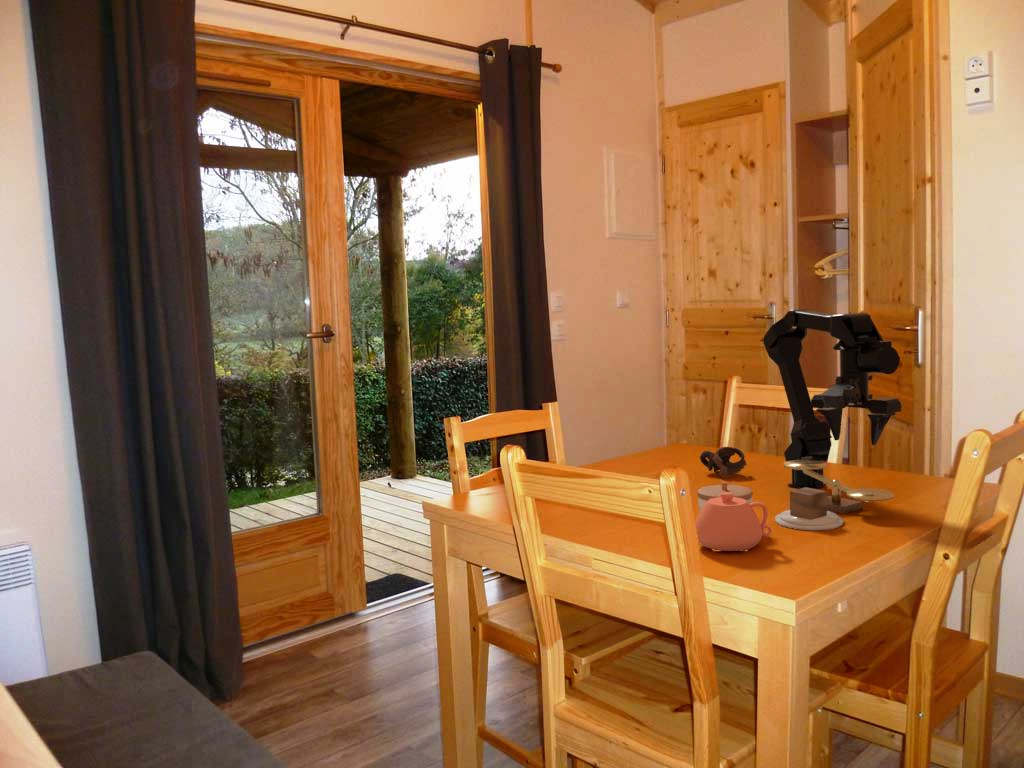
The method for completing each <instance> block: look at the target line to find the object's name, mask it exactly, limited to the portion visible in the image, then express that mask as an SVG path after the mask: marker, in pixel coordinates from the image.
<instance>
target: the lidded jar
mask: <svg viewBox="0 0 1024 768" xmlns="http://www.w3.org/2000/svg"><path fill="white" fill-rule="evenodd" d="M723 492H731V493H733V494H734V496H733V497H737V498H742V499H745V500H746V501H747V502H748V503H749V504H750V503H752V502H753V490H752V489H751V488H749V487H746V486H743V485H737V484H736V485H735V484H728V482H727V481H722V482H721V484H715V485H714V484H712V485H706V486H703V487H700V488H699V489H698V490H697V492H696V493H697V501H698V503H697V504H698V509H699V512H700V511H701V510H702V508H703V506H704V505H705V503H706V502H707V501H708V500H709V499H712V498H717V497H721V496H720V493H723Z"/></svg>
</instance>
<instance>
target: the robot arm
mask: <svg viewBox="0 0 1024 768" xmlns="http://www.w3.org/2000/svg"><path fill="white" fill-rule="evenodd" d="M808 329H810V330H815V331H821V332H826V333H828V334H829V335H830V336H831V337H832V338H834V339H837V340H839V341H838V342H837V343H836V344H835V345H834V346H833V347H832V349H833V350H834V351H839V375H837V376H836V378H835V384H834V385H833V386H831V387H829V388H827V389H826V390H824V391H823V392H822V393H820V394H814V395H813V397H812V398H811V397H810V393H809V390H808V387H807V383H806V379H805V376H804V372H803V369H802V366H801V365H802V364H801V362H800V357H801V355H802V351H803V343H802V341H804V339H805V338H806V336H808ZM762 341H763V343H762V344H763V345H764V348H765V350H766V353H767V356H768V357H769V359H771V360H772V361H773V362H774V363H775V364H776V365H777V366H778V370H779V374H780V377H781V380H782V384H783V388H784V391H785V394H786V397H787V402H788V405H789V409H790V412H791V416H792V420H793V425H792V429H791V432H790V438H791V439H790V440H791V442H790V444H789V445H788V446H787V448H786V449H785V450H784V452H783V455H784V458H785V462H787V461H792V460H816V461H822V462H823V461H828V459H829V455H830V451H831V447H832V440H831V439H832V438H833V439H834V440H835V441H839V440H840V436H841V433H842V432H841V430H842V419H843V411H844V410H843V409H845V408H857V409H867V410H868V411H869V412H870V413H869V414H867V417H868V419H869V420H870V441H871V442H870V443H871V445H872V446H876V445H877V444H878V442H879V439H880V438H881V435H882V434H883V431H884V429H885V427H886V426H887V424H888V422H889V421H890V419H891V417H893V416H896V415H897V413H900V412H902V402H901V401H900V400H899V398H896V397H885V396H883V397H877V398H873V394H872V393H869V387H870V386H869V385H870V382H869V381H872V380H873V375H872V374H881V375H891V374H894V373H895V372H896V371H897V370H898V368H899V366H900V362H901V358H900V355H899V352H898V351H897V349H896V348H894V347H892V346H893V345H892V341H891V340H885V341H884V340H883V338H882V335H881V333H880V332H879V330H878V329H877V327H876V325H875V323H874V321H873V320H872V318H871V315H870V314H869V313H867V312H859V313H858V312H856V313H844V314H834V313H827V312H821V311H820V312H819V311H816V310H814V311H813V310H809V309H807V308H801V309H800V308H798V309H791V310H788V311H787V312H786V313H785V315H784V316H783V317H782V318H780V319H779V320H778V321H776V322H774V323H773V324H772V325H771V326H770V328H769V329H768V330H767V331H766V333H765V334H764V336H763V339H762ZM869 373H870V374H871V375H870V374H869ZM814 409H815V410H814ZM815 411H816V413H820V414H821V415H822V416H824V418H825V419H826V421H825V420H824V421H821V420H820V419H818V417H817V416H816V414H815ZM830 432H831V433H830ZM812 471H814V472H816V473H818V474H820V475H823V476H824V468H823V469H818V470H812ZM787 486H788V487H792V488H796V489H801V488H805V487H807V488H812V489H818V488H823V487H827V484H826V483H824V482H822V481H820V480H818V479H816V478H814V477H811V476H809V475H807V474H805V473H803V471H802V470H795V469H791V482H789V483H787Z"/></svg>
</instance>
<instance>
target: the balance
mask: <svg viewBox="0 0 1024 768" xmlns="http://www.w3.org/2000/svg"><path fill="white" fill-rule="evenodd" d="M783 467H784V468H786V469H788V470H789V469H790V470H792V469H795V470H802V471H803V473H805V474H807V475H809V476H811V477H814V478H816V479H818V480H820V481H822V482H823V483H825V484H826V485H829V486H831V495H827V511H830V512H833V513H838V512H840V513H839V514H843V513H845V514H848V513H847V512H849V513H851V511H852V512H855V511H854V510H856V511H858V510H857V509H859V510H862V509H863V502H865V503H868V504H869V503H871V502H883V501H889V500H892V499H894V498H895V493H893V491H890V490H886V489H879V488H867V487H866V488H865V487H863V488H854V489H852V488H851V487H849V486H847V485H844V484H842V482H841V480H839V479H838V478H837V479H831V478H829V477H828V476H825V475H824V474H823V475H820V474H818V473H816V472H814V471H812V470H818V469H823V470H824V469H826V468H827V462H824V461H823V460H822V461H816V460H792V461H784V462H783ZM842 492H844V493H846V496H847V498H844V497H842ZM849 498H850V499H849ZM861 508H862V509H861Z"/></svg>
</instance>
